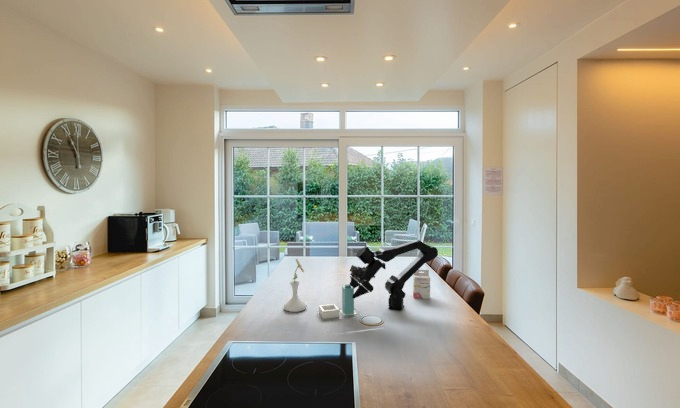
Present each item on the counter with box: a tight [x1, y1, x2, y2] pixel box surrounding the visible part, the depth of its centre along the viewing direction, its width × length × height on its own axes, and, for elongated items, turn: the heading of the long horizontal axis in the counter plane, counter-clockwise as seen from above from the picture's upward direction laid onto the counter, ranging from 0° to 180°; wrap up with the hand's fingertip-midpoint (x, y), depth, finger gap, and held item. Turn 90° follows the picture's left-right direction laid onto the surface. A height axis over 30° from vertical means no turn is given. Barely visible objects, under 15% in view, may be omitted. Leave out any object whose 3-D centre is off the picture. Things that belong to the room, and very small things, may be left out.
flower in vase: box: [283, 258, 308, 313], centre depth 169 cm, size 13×11×25 cm
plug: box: [341, 283, 355, 314], centre depth 163 cm, size 4×4×13 cm
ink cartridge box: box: [412, 269, 431, 300], centre depth 185 cm, size 9×5×15 cm, turn 84°
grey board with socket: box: [315, 303, 362, 322], centre depth 162 cm, size 19×13×4 cm
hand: (349, 294), depth 163 cm, fingers open, 9 cm apart
